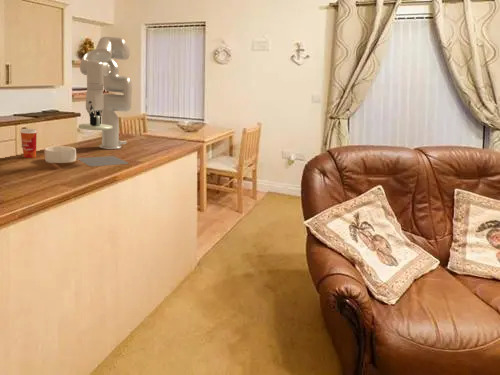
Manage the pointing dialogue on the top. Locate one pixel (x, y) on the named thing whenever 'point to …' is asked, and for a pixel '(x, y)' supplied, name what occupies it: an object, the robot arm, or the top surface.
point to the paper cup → (29, 142)
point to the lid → (96, 127)
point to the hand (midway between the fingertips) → (95, 124)
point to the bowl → (60, 154)
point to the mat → (102, 161)
